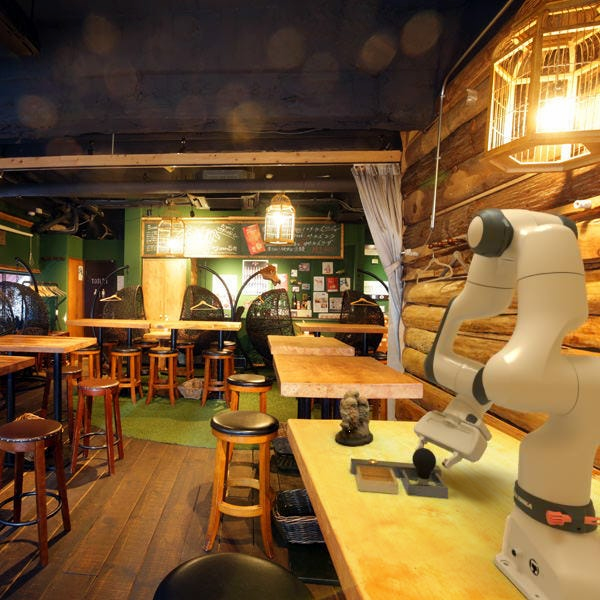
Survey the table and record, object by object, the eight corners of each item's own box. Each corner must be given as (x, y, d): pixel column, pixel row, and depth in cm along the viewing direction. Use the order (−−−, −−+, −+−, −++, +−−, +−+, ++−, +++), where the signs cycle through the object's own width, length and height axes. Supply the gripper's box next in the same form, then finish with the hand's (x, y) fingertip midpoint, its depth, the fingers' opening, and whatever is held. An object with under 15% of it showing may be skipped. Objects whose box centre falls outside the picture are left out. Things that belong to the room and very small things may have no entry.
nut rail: (452, 498, 95) (453, 484, 95) (353, 490, 96) (354, 476, 96) (437, 476, 108) (438, 463, 108) (350, 469, 109) (350, 456, 109)
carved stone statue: (359, 451, 123) (362, 397, 123) (326, 443, 129) (328, 391, 129) (379, 436, 139) (381, 388, 139) (348, 429, 145) (350, 383, 145)
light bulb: (410, 481, 104) (412, 443, 104) (433, 484, 102) (435, 446, 102) (411, 491, 98) (413, 451, 98) (436, 494, 97) (438, 454, 97)
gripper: (426, 401, 114) (398, 438, 110) (487, 422, 96) (456, 467, 91) (436, 415, 116) (409, 452, 112) (498, 438, 98) (468, 484, 93)
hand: (431, 459), depth 101 cm, fingers open, 8 cm apart
